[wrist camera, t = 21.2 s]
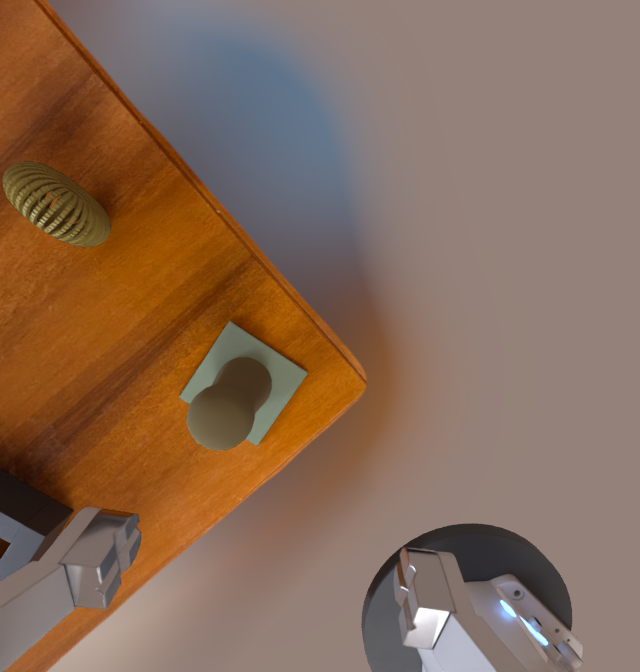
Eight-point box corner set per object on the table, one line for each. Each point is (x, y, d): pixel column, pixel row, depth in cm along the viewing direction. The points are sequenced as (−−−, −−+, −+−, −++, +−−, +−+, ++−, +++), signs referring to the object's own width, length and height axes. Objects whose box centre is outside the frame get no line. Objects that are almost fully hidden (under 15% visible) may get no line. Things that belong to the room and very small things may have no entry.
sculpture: (46, 201, 32) (-38, 171, 25) (73, 172, 32) (-3, 132, 24) (108, 260, 33) (46, 250, 25) (135, 232, 33) (81, 213, 25)
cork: (266, 352, 35) (247, 378, 24) (276, 406, 36) (263, 455, 25) (210, 362, 35) (165, 393, 24) (222, 416, 35) (184, 470, 25)
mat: (307, 372, 36) (307, 373, 35) (257, 444, 36) (256, 446, 36) (230, 320, 35) (229, 321, 34) (179, 396, 35) (178, 397, 35)
